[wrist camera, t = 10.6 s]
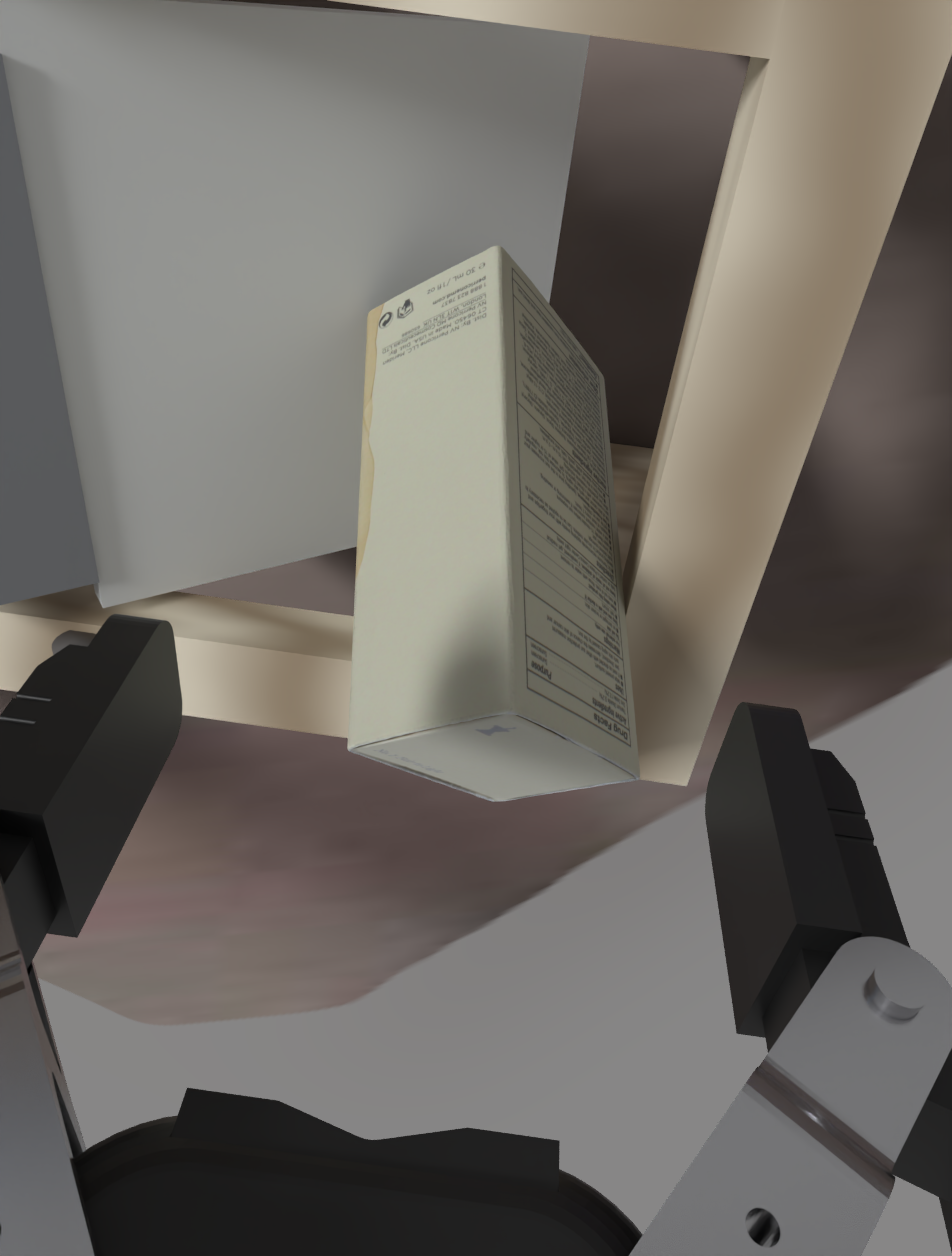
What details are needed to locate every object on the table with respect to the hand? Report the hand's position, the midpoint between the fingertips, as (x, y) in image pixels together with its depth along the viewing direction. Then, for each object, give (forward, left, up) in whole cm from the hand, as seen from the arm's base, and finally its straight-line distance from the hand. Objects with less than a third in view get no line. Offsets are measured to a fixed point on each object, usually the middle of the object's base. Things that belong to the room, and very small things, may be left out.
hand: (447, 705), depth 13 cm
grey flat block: (-10, 0, -16) cm, 19 cm away
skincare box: (0, 0, -15) cm, 16 cm away
